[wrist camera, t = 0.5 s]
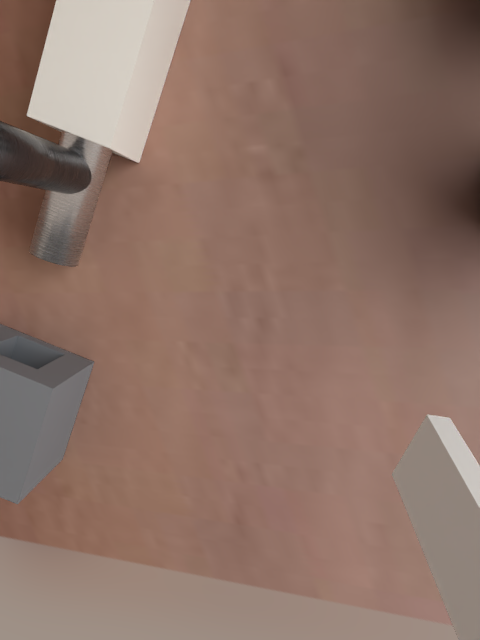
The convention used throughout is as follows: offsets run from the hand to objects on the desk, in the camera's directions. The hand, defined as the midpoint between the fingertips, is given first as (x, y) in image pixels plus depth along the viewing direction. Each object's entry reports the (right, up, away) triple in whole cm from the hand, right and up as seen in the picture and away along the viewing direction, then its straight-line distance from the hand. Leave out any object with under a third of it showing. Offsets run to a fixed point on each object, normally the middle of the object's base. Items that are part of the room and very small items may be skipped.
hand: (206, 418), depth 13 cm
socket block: (-18, -4, +27) cm, 32 cm away
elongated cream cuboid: (-7, +25, +20) cm, 33 cm away
